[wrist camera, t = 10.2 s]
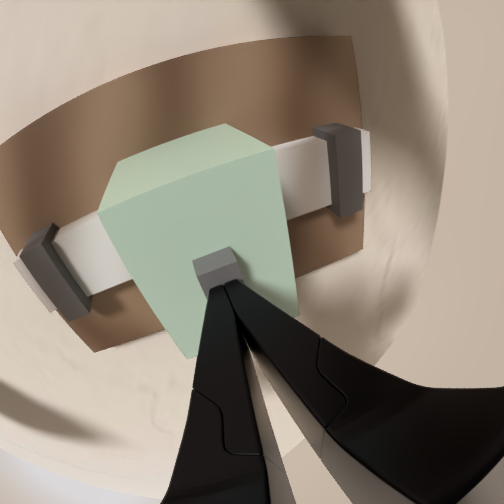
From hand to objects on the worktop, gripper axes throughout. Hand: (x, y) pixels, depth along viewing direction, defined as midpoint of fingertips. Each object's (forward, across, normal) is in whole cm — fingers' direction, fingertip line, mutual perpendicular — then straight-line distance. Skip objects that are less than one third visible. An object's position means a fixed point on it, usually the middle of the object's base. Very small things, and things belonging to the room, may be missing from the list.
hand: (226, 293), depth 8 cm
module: (+6, 0, 0) cm, 6 cm away
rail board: (+8, 0, 0) cm, 8 cm away
